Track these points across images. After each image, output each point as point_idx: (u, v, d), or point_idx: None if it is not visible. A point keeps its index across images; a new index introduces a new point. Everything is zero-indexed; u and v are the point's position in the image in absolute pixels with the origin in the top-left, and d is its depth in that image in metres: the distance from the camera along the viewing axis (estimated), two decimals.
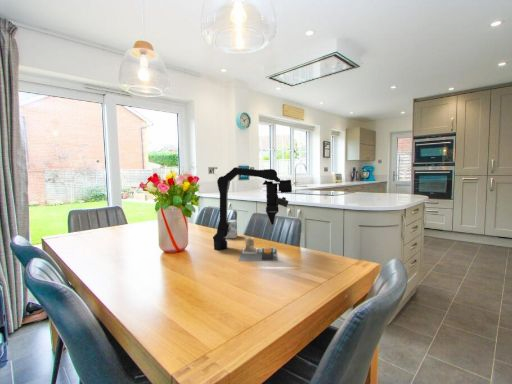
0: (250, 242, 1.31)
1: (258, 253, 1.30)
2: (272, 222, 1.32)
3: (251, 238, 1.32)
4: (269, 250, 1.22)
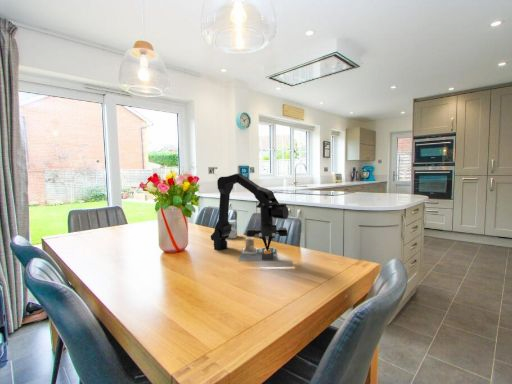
0: (250, 242, 1.31)
1: (258, 253, 1.30)
2: None
3: (251, 238, 1.32)
4: (269, 252, 1.22)
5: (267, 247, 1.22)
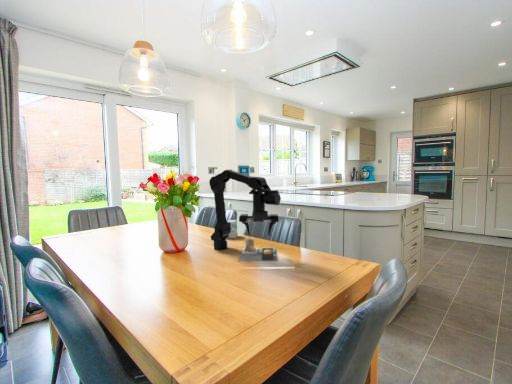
0: (250, 242, 1.31)
1: (258, 253, 1.30)
2: None
3: (251, 238, 1.32)
4: (269, 253, 1.22)
5: (268, 233, 1.26)
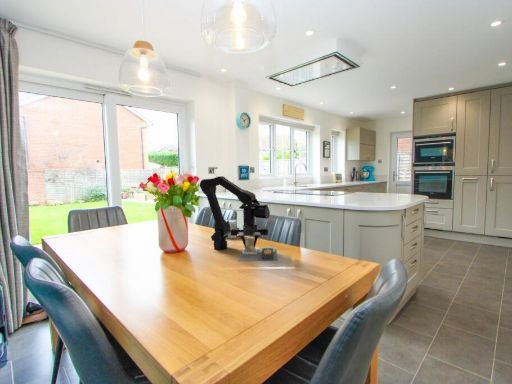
0: (250, 242, 1.31)
1: (258, 253, 1.30)
2: (244, 245, 1.33)
3: (251, 238, 1.32)
4: (269, 253, 1.22)
5: None
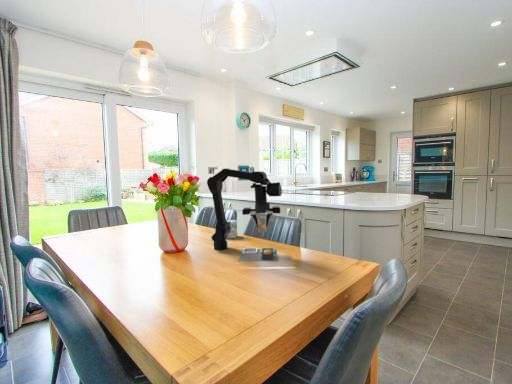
0: (262, 221, 1.29)
1: (258, 253, 1.30)
2: None
3: (263, 217, 1.31)
4: (269, 253, 1.22)
5: (266, 224, 1.30)
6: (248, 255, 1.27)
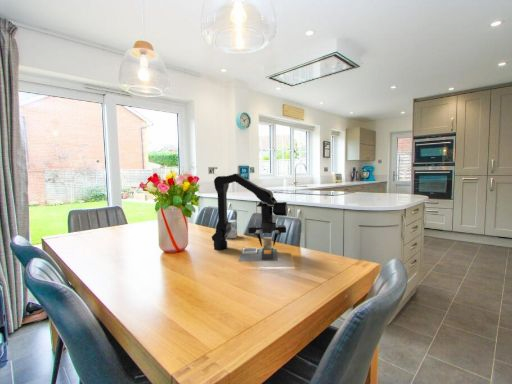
0: (268, 241, 1.30)
1: (258, 253, 1.30)
2: (260, 243, 1.32)
3: (269, 238, 1.32)
4: (269, 253, 1.22)
5: (273, 243, 1.31)
6: (248, 255, 1.27)
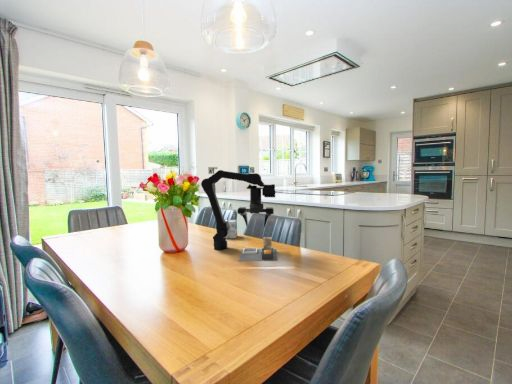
0: (268, 241, 1.30)
1: (258, 253, 1.30)
2: (246, 224, 1.39)
3: (269, 238, 1.32)
4: (269, 253, 1.22)
5: (264, 224, 1.37)
6: (248, 255, 1.27)
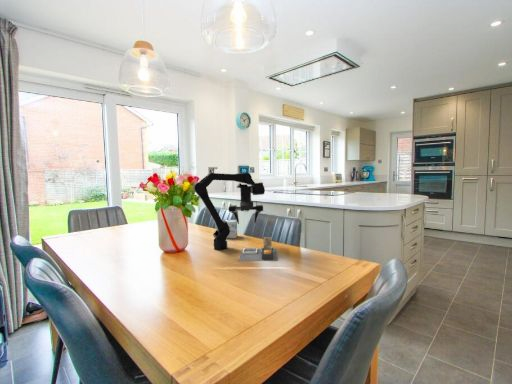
0: (268, 241, 1.30)
1: (258, 253, 1.30)
2: (237, 221, 1.45)
3: (269, 238, 1.32)
4: (269, 253, 1.22)
5: (254, 221, 1.44)
6: (248, 255, 1.27)
